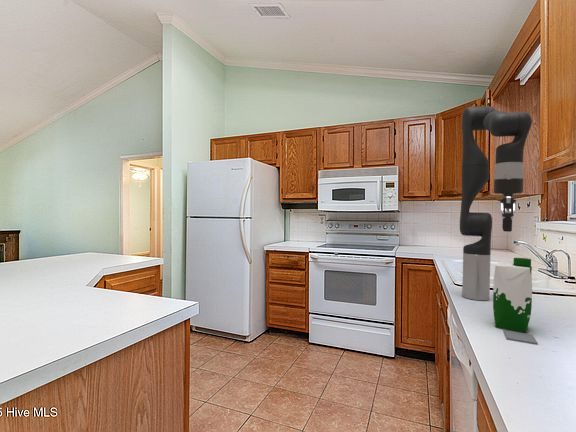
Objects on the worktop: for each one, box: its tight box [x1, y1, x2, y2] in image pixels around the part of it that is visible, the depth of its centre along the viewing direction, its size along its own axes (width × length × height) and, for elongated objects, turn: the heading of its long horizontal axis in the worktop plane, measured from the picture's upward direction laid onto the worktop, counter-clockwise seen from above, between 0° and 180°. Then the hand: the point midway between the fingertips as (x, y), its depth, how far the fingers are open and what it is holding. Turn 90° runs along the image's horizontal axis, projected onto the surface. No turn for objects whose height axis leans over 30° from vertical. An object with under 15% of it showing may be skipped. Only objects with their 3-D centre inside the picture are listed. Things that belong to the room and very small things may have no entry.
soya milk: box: [492, 257, 533, 334], centre depth 92 cm, size 9×9×20 cm
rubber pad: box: [503, 329, 539, 345], centre depth 84 cm, size 6×6×1 cm
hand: (506, 230), depth 99 cm, fingers open, 8 cm apart
